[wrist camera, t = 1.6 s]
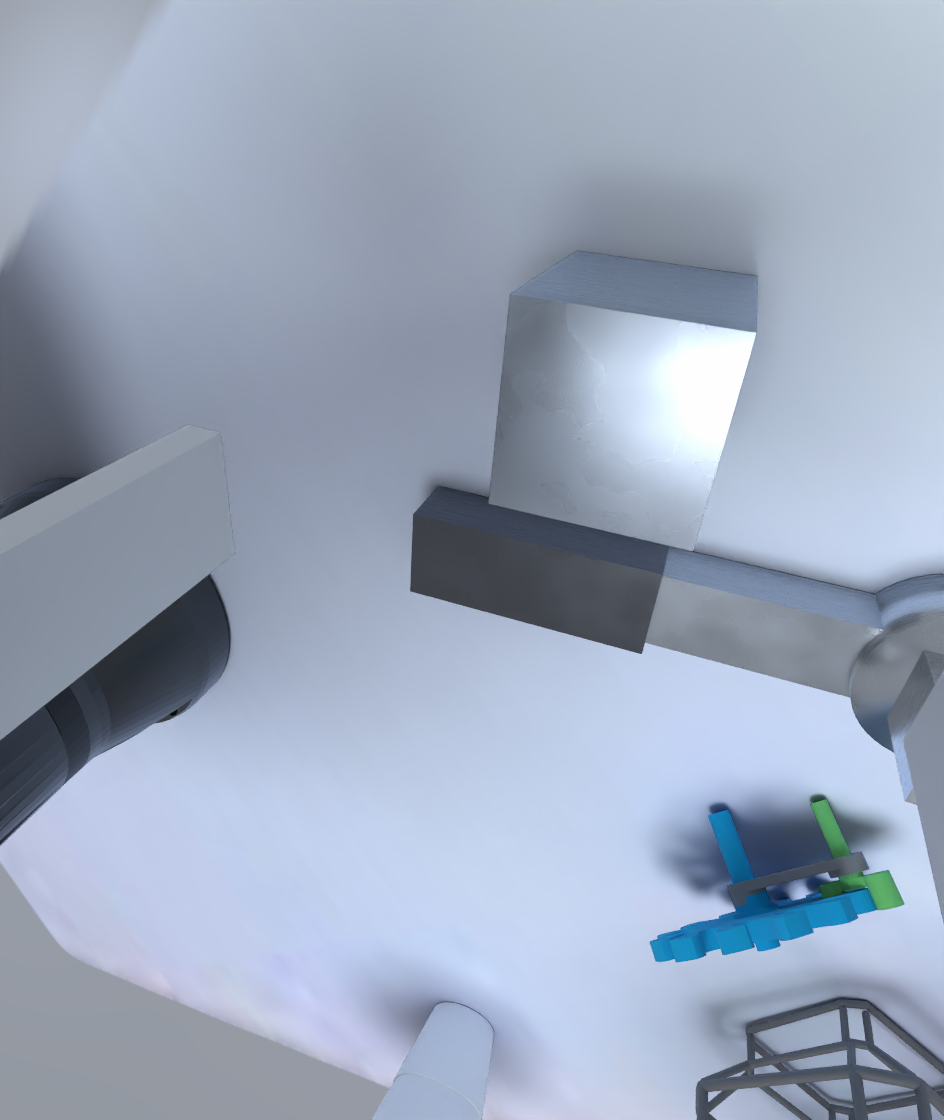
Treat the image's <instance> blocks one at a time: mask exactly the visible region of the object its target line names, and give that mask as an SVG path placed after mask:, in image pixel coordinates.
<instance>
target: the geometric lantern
mask: <svg viewBox="0 0 944 1120" xmlns="http://www.w3.org/2000/svg"><path fill="white" fill-rule="evenodd" d="M845 1007H847V1008H860V1009H867V1010H868V1011H869V1012H870V1013H871V1014H872V1015H874V1016H875V1017H876V1018H877V1019H878V1020H880V1021H881V1022H882V1023H883V1024H884V1025H885V1026H887V1027H888V1028H889V1029H890V1030H891V1031H893V1032H894V1033H895V1034H896V1035H897V1036H899V1037H900V1038H901V1039H902V1040H903V1041H904V1042H906V1043H907V1044H908V1045H909V1046H910V1047H912V1048H913V1049H914V1050H915V1051H916V1052H917V1053H919V1054H920V1055H921V1056H922V1057H923V1058H925V1059H926V1060H927V1061H928V1062H929V1063H931V1064H932V1065H933V1066H934V1067H935V1068H936V1069H938V1070H939V1071H940V1072H941V1073H942V1074H944V1066H943V1065H942V1064H941V1063H940V1062H939V1061H937V1060H936V1059H935V1058H934V1057H933V1056H932V1055H930V1054H929V1053H928V1052H927V1051H926V1050H924V1049H923V1048H922V1047H921V1046H920V1045H919V1044H917V1043H916V1042H915V1041H914V1040H913V1039H911V1038H910V1037H909V1036H908V1035H907V1034H906V1033H904V1032H903V1031H902V1030H901V1029H900V1028H898V1027H897V1026H896V1025H895V1024H894V1023H892V1022H891V1021H890V1020H889V1019H888V1018H887V1017H885V1016H884V1015H883V1014H882V1013H881V1012H879V1011H878V1010H877V1009H876V1008H875V1007H874V1006H872V1005H871V1004H869V1002H867V1001H859V1000H846V999H839V1000H837V1001H834V1002H830V1003H827V1004H824V1005H820V1006H817V1007H814V1008H810V1009H807V1010H804V1011H800V1012H797V1013H794V1014H790V1015H787V1016H784V1017H780V1018H777V1019H773V1020H770V1021H767V1022H763V1023H760V1024H757V1025H753V1026H750V1027H747V1028H746V1035H747V1052H748V1061H745V1062H742V1063H740V1064H737V1065H735V1066H732V1067H730V1068H727V1069H725V1070H722V1071H720V1072H717V1073H715V1074H712V1075H710V1076H707V1077H705V1078H702V1079H701V1081H699V1082H698V1083H697V1087H696V1114H697V1120H716V1119H715V1118H714V1117H713V1116H712V1115H710V1114H709V1112H710V1111H711V1110H713V1109H714V1108H715V1107H716V1106H717V1105H719V1104H720V1103H721V1102H722V1101H724V1100H725V1099H726V1098H727V1097H728V1096H730V1095H731V1094H732V1093H733V1092H734V1091H736V1090H737V1089H744V1088H754V1087H759V1088H761V1089H762V1090H763V1091H765V1092H766V1093H767V1094H769V1095H770V1096H771V1097H772V1098H774V1099H775V1100H776V1101H778V1102H779V1103H780V1104H782V1105H783V1106H784V1107H786V1108H787V1109H788V1110H789V1111H791V1112H792V1113H793V1114H795V1115H796V1116H797V1117H799V1118H800V1119H801V1120H812V1119H811V1118H809V1117H808V1116H807V1115H805V1114H804V1113H803V1112H802V1111H800V1110H799V1109H798V1108H796V1107H795V1106H794V1105H792V1104H791V1103H790V1102H788V1101H787V1100H786V1099H785V1098H783V1097H782V1096H781V1095H779V1094H778V1093H777V1092H775V1091H774V1090H773V1089H771V1088H770V1087H769V1086H775V1085H786V1084H797V1085H798V1086H799V1087H800V1088H801V1089H803V1090H804V1091H805V1092H806V1093H807V1094H809V1095H810V1096H811V1097H812V1098H814V1099H815V1100H816V1101H817V1102H818V1103H820V1104H821V1105H822V1106H823V1107H825V1108H826V1109H827V1110H829V1120H836V1117H835V1112H837V1113H841V1114H846V1115H849V1120H868V1115H867V1114H869V1113H874V1112H879V1111H885V1110H890V1109H895V1108H900V1107H905V1106H911V1105H916V1104H917V1109H918V1117H919V1120H932V1115H931V1108H930V1103H931V1104H932V1105H933V1106H934V1107H935V1108H936V1109H937V1110H938V1111H939V1112H940V1113H941V1114H942V1115H943V1116H944V1100H943V1099H944V1090H942V1091H937V1092H935V1091H934V1090H933V1089H932V1088H931V1087H930V1086H929V1085H928V1084H927V1083H926V1082H925V1081H924V1080H922V1079H921V1078H919V1077H917V1075H916V1074H915V1073H913V1072H912V1071H910V1070H909V1069H908V1068H906V1067H905V1066H903V1065H902V1064H900V1063H899V1062H898V1061H896V1060H895V1059H893V1058H892V1057H891V1056H889V1055H888V1054H886V1053H885V1052H884V1051H882V1050H881V1049H879V1048H878V1047H877V1046H875V1045H874V1041H873V1034H872V1027H871V1020H870V1014H869V1012H867V1011H863V1012H862V1017H863V1024H864V1032H865V1039H866V1041H862V1040H856V1039H850V1037H849V1026H848V1015H847V1009H846V1008H845ZM836 1009H839V1011H840V1023H841V1035H842V1042H837V1043H832V1044H827V1045H822V1046H818V1047H813V1048H808V1049H803V1050H798V1051H794V1052H789V1053H784V1054H779V1055H774V1056H771V1055H770V1054H769V1053H767V1052H766V1051H765V1050H764V1049H763V1048H761V1047H760V1046H759V1045H758V1044H756V1043H755V1041H754V1035H753V1034H754V1033H757V1032H760V1031H764V1030H767V1029H771V1028H774V1027H778V1026H781V1025H785V1024H788V1023H791V1022H795V1021H798V1020H802V1019H805V1018H809V1017H812V1016H816V1015H819V1014H823V1013H826V1012H829V1011H833V1010H836ZM855 1048H859V1049H865V1050H869V1052H871V1053H872V1054H873V1055H874V1056H875V1057H877V1058H878V1059H879V1060H880V1061H881V1062H883V1063H884V1064H885V1065H886V1066H887V1067H889V1068H890V1069H891V1070H892V1071H888V1070H882V1069H877V1068H871V1067H865V1066H860V1065H856V1054H855ZM842 1050H847V1065H841V1066H832V1067H823V1068H813V1069H804V1070H795V1071H789V1070H788V1069H787V1068H786V1067H784V1066H783V1065H782V1064H781V1063H782V1062H787V1061H792V1060H797V1059H802V1058H807V1057H812V1056H817V1055H822V1054H827V1053H832V1052H837V1051H842ZM755 1051H756V1052H758V1053H759V1054H760V1055H761V1056H762V1057H764V1058H760V1059H755ZM767 1065H773V1066H775V1067H776V1068H777V1069H778V1070H779V1071H781V1072H776V1073H767V1074H757V1075H754V1068H757V1067H762V1066H767ZM745 1070H746V1071H745ZM742 1071H745V1073H743V1074H742V1075H741V1076H739V1077H730V1076H732V1075H735V1074H737V1073H740V1072H742ZM727 1077H729V1078H727ZM849 1078H850V1084H851V1092H852V1099H853V1106H854V1108H848V1107H843V1106H839V1105H834V1104H829V1103H828V1102H827V1101H826V1100H825V1099H823V1098H822V1097H821V1096H820V1095H819V1094H817V1093H816V1092H815V1091H814V1090H812V1089H811V1088H810V1087H809V1086H808V1085H806V1084H805V1083H807V1082H817V1081H828V1080H838V1079H849ZM862 1079H864V1080H869V1081H875V1082H880V1083H885V1084H891V1085H896V1086H901V1087H907V1088H911V1089H915V1093H916V1096H912V1097H907V1098H902V1099H897V1100H892V1101H887V1102H882V1103H877V1104H872V1105H867V1106H866V1102H865V1095H864V1088H863V1082H862ZM712 1091H722V1092H720V1093H719V1094H718V1095H717V1096H716V1097H714V1098H713V1099H712V1100H711V1101H710V1102H708V1092H712Z"/></svg>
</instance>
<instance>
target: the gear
mask: <svg viewBox="0 0 944 1120" xmlns="http://www.w3.org/2000/svg"><path fill="white" fill-rule="evenodd" d="M810 805H811V807H812V809H813V812H814V814H815V816H816V819H817V821H818V823H819V826H820V828H821V830H822V832H823V835H824V837H825V839H826V842H827V844H828V846H829V849H830V851H831V853H832V856H833V858H832V859H828V860H824V861H820V862H816V863H812V864H808V865H804V866H800V867H796V868H792V869H788V870H784V871H780V872H776V873H772V874H768V875H764V876H760V877H756V878H755V877H754V875H753V872H752V869H751V867H750V864H749V862H748V859H747V856H746V854H745V851H744V848H743V846H742V843H741V841H740V838H739V835H738V833H737V830H736V828H735V825H734V822H733V820H732V817H731V815H730V812H729V810H725V811H721V812H718V813H714V814H711V815H708V817H709V820H710V823H711V825H712V828H713V831H714V833H715V836H716V839H717V842H718V844H719V847H720V850H721V852H722V855H723V858H724V860H725V863H726V866H727V869H728V871H729V874H730V877H731V879H732V882H733V884H730V885H727V888H728V890H729V893H730V896H731V899H732V901H733V904H734V907H735V910H736V911H735V912H731V913H728V914H724V915H721V916H719V919H714V920H709V921H702V922H697V923H693V924H689V925H686V926H684V927H681V928H680V929H681V930H678V931H673V932H668V933H664V934H661V935H658V936H657V938H658V939H656V940H653V941H650V944H651V948H652V951H653V954H654V957H655V961H657V962H663V961H669V960H672V959H675V961H676V962H682V961H688V960H694V959H698V958H701V957H704V956H706V952H709V951H712V950H716V949H721V951H722V954H723V955H727V954H731V953H735V952H740V951H744V950H748V949H751V948H754V947H755V946H754V943H755V945H756V947H757V950H758V951H765V950H770V949H773V948H777V947H779V946H781V945H780V943H779V940H780V941H786V940H792V939H795V938H799V937H802V936H805V935H808V934H811V933H814V932H813V930H812V928H818V927H824V926H833V925H839V924H844V923H849V922H851V921H853V920H856V919H857V918H858V916H857V914H862V913H867V912H871V911H875V910H885V909H890V908H895V907H898V906H901V905H904V902H903V900H902V898H901V895H900V893H899V891H898V889H897V887H896V885H895V882H894V880H893V878H892V876H891V874H890V872H889V870H886V871H881V872H876V873H872V874H869V875H864V874H863V872H862V871H864V870H867V869H869V867H868V865H867V862H866V860H865V858H864V856H863V854H862V852H857V853H852V854H851V853H850V851H849V849H848V846H847V844H846V842H845V840H844V837H843V835H842V833H841V831H840V828H839V826H838V824H837V822H836V820H835V817H834V815H833V813H832V811H831V808H830V806H829V804H828V802H827V799H826V800H822V801H818V802H815V803H811V804H810ZM825 872H828V873H829V876H830V878H836V877H838V878H839V880H837V881H832V882H828V883H824V884H821V885H818V888H819V890H820V892H817V893H813V894H809V895H806V898H803V899H799V900H795V901H790V898H788V899H784V900H779V901H775V902H771V900H770V897H769V895H768V892H767V890H766V887H768V886H772V885H776V884H780V883H784V882H788V881H792V880H796V879H801V878H805V877H809V876H813V875H817V874H821V873H825ZM865 887H868V888H869V889H868V888H865ZM872 897H873V898H872ZM876 906H877V907H876ZM877 908H878V909H877Z"/></svg>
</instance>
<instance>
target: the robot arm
mask: <svg viewBox="0 0 944 1120" xmlns="http://www.w3.org/2000/svg"><path fill="white" fill-rule="evenodd" d="M234 554H235V549H234V540H233V532H232V523H231V515H230V507H229V498H228V490H227V481H226V473H225V465H224V456H223V448H222V439H221V433H220V432H216V431H212V430H208V429H203V428H199V427H195V426H191V425H186V426H184V427H182V428H180V429H178V430H176V431H174V432H172V433H170V434H168V435H166V436H164V437H162V438H160V439H158V440H156V441H154V442H152V443H150V444H148V445H146V446H144V447H142V448H140V449H138V450H136V451H134V452H132V453H130V454H128V455H127V456H125V457H123V458H121V459H119V460H117V461H115V462H113V463H111V464H109V465H107V466H105V467H103V468H101V469H99V470H97V471H95V472H93V473H91V474H89V475H87V476H85V477H83V478H81V479H70V478H60V479H52V480H48V481H44V482H42V483H39V484H37V485H35V486H33V487H31V488H29V489H27V490H25V491H23V492H21V493H19V494H17V495H15V496H13V497H11V498H9V499H7V500H5V501H4V502H2V503H1V504H0V846H1V845H2V844H3V843H4V842H5V841H6V840H7V839H8V838H9V837H10V836H11V835H12V834H13V833H14V832H15V831H16V830H17V829H18V828H20V827H21V826H22V825H23V824H24V823H25V822H26V821H27V820H28V819H29V818H30V817H31V816H32V815H33V814H34V813H35V812H36V811H37V810H38V809H39V808H40V807H41V806H42V805H43V804H44V803H46V802H47V801H48V800H49V799H50V798H51V797H52V796H53V795H54V794H55V793H56V792H57V791H58V790H59V789H60V788H61V787H62V786H63V785H64V784H65V783H66V782H67V781H68V780H69V779H70V778H72V777H73V776H74V775H75V774H76V773H77V772H78V771H79V770H80V769H81V768H82V767H84V766H85V765H86V764H87V763H88V762H89V761H90V760H91V759H93V758H94V757H96V756H98V755H99V754H101V753H103V752H105V751H107V750H109V749H111V748H113V747H115V746H117V745H119V744H121V743H123V742H124V741H126V740H128V739H130V738H132V737H133V736H135V735H137V734H138V733H140V732H141V731H143V730H144V729H146V728H147V727H149V726H151V725H152V724H154V723H160V722H164V721H167V720H170V719H172V718H174V717H176V716H178V715H180V714H182V713H183V712H185V711H186V710H188V709H189V708H190V707H192V706H193V705H194V704H195V703H196V702H197V701H198V700H199V699H200V698H201V697H202V696H203V695H204V694H205V693H206V692H207V691H208V690H209V689H210V688H211V687H212V686H213V685H214V684H215V683H216V682H217V681H218V679H219V678H220V676H221V675H222V673H223V671H224V669H225V666H226V663H227V659H228V653H229V634H228V627H227V622H226V618H225V614H224V611H223V608H222V605H221V602H220V600H219V597H218V595H217V593H216V591H215V589H214V587H213V585H212V583H211V581H210V579H209V578H208V576H207V575H209V574H210V573H211V572H212V571H214V570H215V569H216V568H217V567H219V566H220V565H221V564H222V563H224V562H225V561H226V560H227V559H229V558H230V557H231V556H232V555H234ZM903 743H904V748H905V752H906V757H907V761H908V766H909V770H910V775H911V779H912V784H913V788H914V793H915V797H916V802H917V806H918V811H919V815H920V820H921V824H922V829H923V833H924V838H925V842H926V847H927V851H928V856H929V860H930V865H931V869H932V873H933V878H934V882H935V887H936V891H937V896H938V900H939V905H940V909H941V914H942V918H943V923H944V671H943V672H942V674H941V676H940V678H939V679H938V681H937V683H936V685H935V686H934V688H933V690H932V691H931V693H930V695H929V697H928V698H927V700H926V702H925V704H924V705H923V707H922V709H921V711H920V712H919V714H918V716H917V718H916V719H915V721H914V723H913V724H912V726H911V728H910V730H909V731H908V733H907V735H906V737H905V738H904V740H903Z"/></svg>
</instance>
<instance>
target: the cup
mask: <svg viewBox="0 0 944 1120" xmlns="http://www.w3.org/2000/svg"><path fill="white" fill-rule="evenodd" d="M493 1037H494V1031H493V1029H492V1027H491V1025H490V1024H489V1022H488V1021H487V1020H486V1019H485V1018H484V1017H482V1016H481V1015H480V1014H478V1013H477V1012H475V1011H474V1010H472V1009H470V1008H468V1007H465V1006H463V1005H460V1004H456V1003H450V1002H443V1003H439V1004H437V1005H436V1006H435V1007H434V1009H433V1011H432V1013H431V1014H430V1016H429V1018H428V1020H427V1021H426V1023H425V1025H424V1027H423V1029H422V1030H421V1032H420V1034H419V1036H418V1038H417V1039H416V1041H415V1043H414V1045H413V1046H412V1048H411V1050H410V1052H409V1054H408V1055H407V1057H406V1059H405V1061H404V1063H403V1064H402V1066H401V1068H400V1070H399V1071H398V1073H397V1075H396V1077H395V1079H394V1081H393V1085H392V1087H391V1089H389V1090H388V1092H387V1093H386V1095H385V1097H384V1099H383V1100H382V1102H381V1104H380V1106H379V1107H378V1109H377V1111H376V1113H375V1114H374V1116H373V1118H372V1120H482V1116H483V1108H484V1101H485V1094H486V1087H487V1080H488V1073H489V1065H490V1058H491V1051H492V1044H493Z"/></svg>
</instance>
